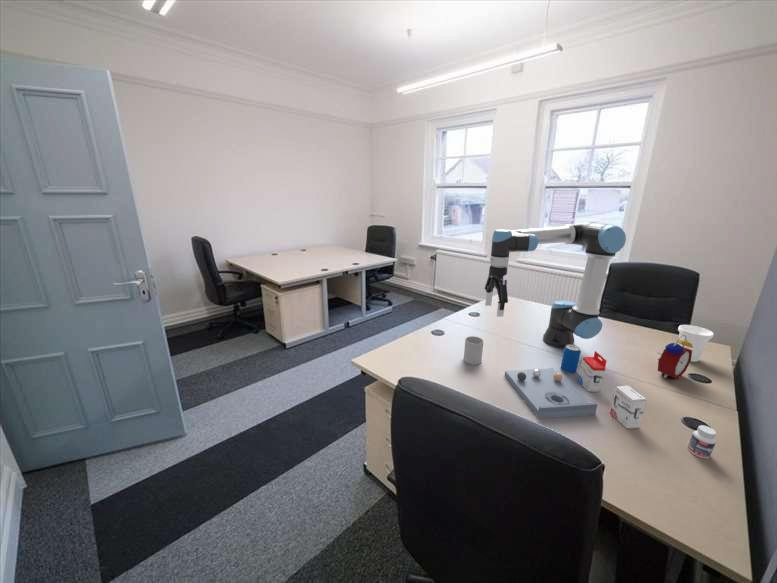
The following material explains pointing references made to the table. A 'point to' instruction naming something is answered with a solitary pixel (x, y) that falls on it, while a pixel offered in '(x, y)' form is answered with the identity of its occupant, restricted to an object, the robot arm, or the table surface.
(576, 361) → the beverage can
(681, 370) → the alarm clock
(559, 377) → the terracotta ball
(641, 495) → the table surface
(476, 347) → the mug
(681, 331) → the cup
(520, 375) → the rubber ball
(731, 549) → the table surface
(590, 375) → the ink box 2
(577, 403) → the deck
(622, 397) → the ink box
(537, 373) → the steel ball
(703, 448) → the pill bottle
